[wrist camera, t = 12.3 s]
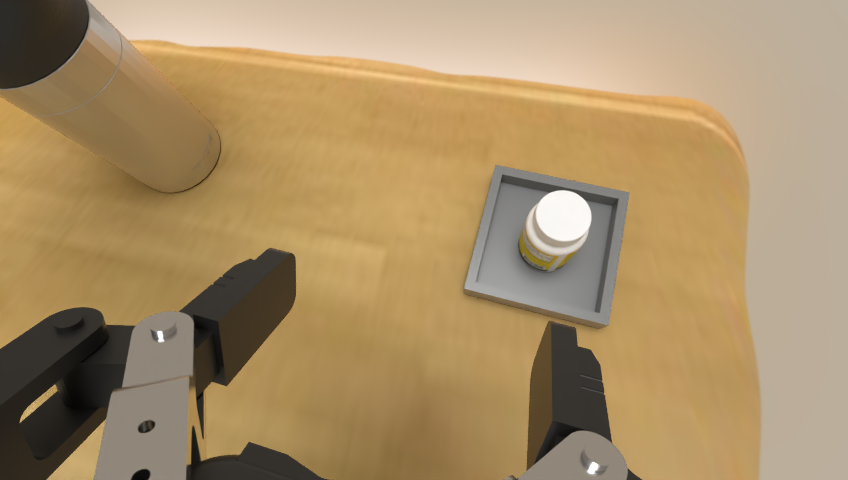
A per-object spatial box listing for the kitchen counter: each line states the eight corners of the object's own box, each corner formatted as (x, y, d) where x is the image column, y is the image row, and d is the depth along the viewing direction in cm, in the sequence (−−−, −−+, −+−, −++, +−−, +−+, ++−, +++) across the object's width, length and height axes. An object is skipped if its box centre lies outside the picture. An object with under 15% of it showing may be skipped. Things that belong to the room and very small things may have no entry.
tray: (464, 293, 40) (464, 288, 37) (493, 176, 43) (495, 164, 41) (599, 328, 38) (608, 325, 35) (619, 203, 41) (629, 192, 39)
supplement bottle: (565, 220, 40) (591, 181, 32) (575, 269, 39) (605, 242, 31) (513, 225, 40) (525, 189, 32) (521, 275, 39) (536, 250, 31)
